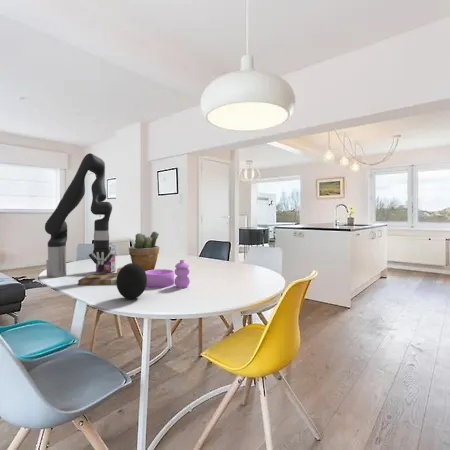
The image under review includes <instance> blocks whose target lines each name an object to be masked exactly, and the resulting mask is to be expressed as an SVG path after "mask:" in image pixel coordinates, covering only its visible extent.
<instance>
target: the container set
mask: <svg viewBox="0 0 450 450" xmlns="http://www.w3.org/2000/svg"><path fill="white" fill-rule="evenodd" d="M174 267H175V269H174V270H173V269H165V268H161V269H160V268H159V269H155V268H154V270H148V271H145V272H146V276H147V285H146V288H151V287H152V289H153V288H154V289H155V288H156V289H158V288H160V287H161V288H168V287H171V286H173V285H175V286H176V287H177V288H179V289H181V288H182V289H183V288H187V287H188V286H189V285H190V283H191V280H190V277H189V276H188V275H190V269H189V267H190V264H188V263H187V262H185V260H184V259H179V262H178V263H176V264H175V265H174ZM175 276H176V277H175Z"/></svg>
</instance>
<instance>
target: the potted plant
mask: <svg viewBox="0 0 450 450" xmlns="http://www.w3.org/2000/svg"><path fill="white" fill-rule="evenodd" d="M158 237H159V232H157V231H152V232H151V235H150V236H146V234H142V233H140V232H138V233H137V234H135V240H134V244H133V246H129V247H128V254H129V255H130V261H131V263H136V264H138V265H140V266H141V267H142V268H143V269H144V270H145V271H148V270H155V268H156V265H157V261H158V256H159V253H160V246H159V245H156V243H157V239H158Z"/></svg>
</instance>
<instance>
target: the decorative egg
mask: <svg viewBox="0 0 450 450" xmlns="http://www.w3.org/2000/svg"><path fill="white" fill-rule="evenodd" d="M121 267H122V268H121V270H120V271H119V273H118V275H117V280H116V284H115V285H116V288H117V291H118V293H119V294H120V295H121V296H122V297H123V298H125V299H128V300H135V299H137V298H139V297H140V296H141V295H143V293H144V292H145V290H146V288H147V287H146V285H147V276H146V272H145V270H144V269H143V268H142V267H141V266H140V265H138V264H136V263H132V262H130V263H127V264H125V265H123V266H121Z"/></svg>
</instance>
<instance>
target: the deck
mask: <svg viewBox="0 0 450 450" xmlns="http://www.w3.org/2000/svg"><path fill="white" fill-rule="evenodd" d="M116 280H117V272H111V273H109V272H95V273H93V272H92V273H89V274H88V275H85V276H84V277H82V278H80V279H78V282H77V283H78V286H97V285H98V286H99V285H100V286H103V285H104V286H105V285H106V286H108V285H110V286H111V285H117V284H116Z"/></svg>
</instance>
